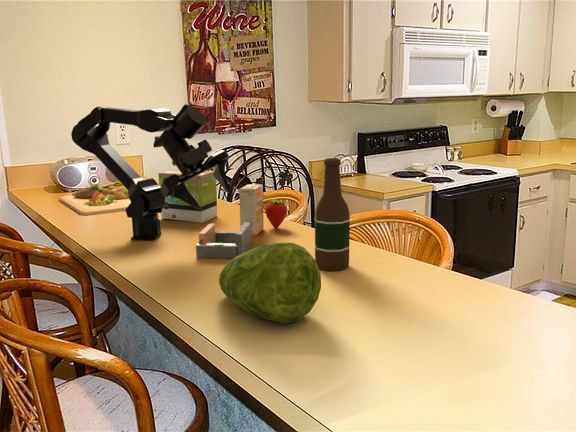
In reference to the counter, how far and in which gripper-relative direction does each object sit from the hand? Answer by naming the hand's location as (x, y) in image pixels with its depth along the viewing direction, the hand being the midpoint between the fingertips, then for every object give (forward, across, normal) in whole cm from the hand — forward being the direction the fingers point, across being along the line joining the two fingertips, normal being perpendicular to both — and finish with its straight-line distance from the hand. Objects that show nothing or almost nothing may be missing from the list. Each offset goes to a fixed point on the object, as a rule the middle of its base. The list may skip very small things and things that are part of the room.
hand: (214, 200), depth 136 cm
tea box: (-7, +6, +37) cm, 38 cm away
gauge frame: (+12, -4, +3) cm, 13 cm away
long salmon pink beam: (+9, -8, +4) cm, 12 cm away
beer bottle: (+30, +7, -16) cm, 35 cm away
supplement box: (+10, +10, +14) cm, 20 cm away
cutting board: (-35, -6, +69) cm, 77 cm away
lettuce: (+29, -18, -30) cm, 45 cm away
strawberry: (+13, +18, +16) cm, 27 cm away
